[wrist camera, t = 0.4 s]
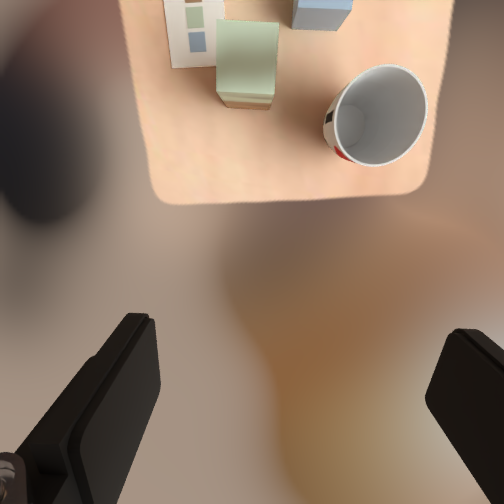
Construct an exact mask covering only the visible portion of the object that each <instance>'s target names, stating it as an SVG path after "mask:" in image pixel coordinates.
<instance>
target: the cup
mask: <svg viewBox="0 0 504 504" xmlns="http://www.w3.org/2000/svg"><path fill="white" fill-rule="evenodd" d="M427 114H428V100H427V95H426V91H425V89H424V86H423V84H422V83H421V81H420V80H419V78H418V77H417V76H416V75H415V74H414V73H413V72H412V71H410V70H409V69H407V68H405V67H402V66H399V65H395V64H383V65H378V66H374V67H372V68H369V69H367V70H365V71H364V72H362V73H361V74H359V75H358V76H357V77H355V78H354V79H353V80H352V81H351V82H350V83H349V84H348V85H347V86H346V87H345V88H344V89H343V90H342V91H341V92H340V93H339V94H338V95H337V96H336V97H335V99H334V100H333V102H332V103H331V105H330V107H329V109H328V111H327V113H326V115H325V118H324V122H323V134H324V138H325V141H326V143H327V145H328V146H329V147H330V148H331V149H332V150H333V151H334V152H335V153H336V154H337V155H339V156H340V157H341V158H343V159H345V160H348V161H351V162H354V163H357V164H360V165H364V166H370V167H376V166H383V165H387V164H390V163H392V162H394V161H396V160H398V159H399V158H401V157H402V156H404V155H405V154H406V153H407V152H408V151H409V150H410V149H411V148H412V147H413V146H414V145H415V143H416V142H417V141H418V139H419V137H420V135H421V134H422V131H423V129H424V126H425V123H426V119H427Z"/></svg>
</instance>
